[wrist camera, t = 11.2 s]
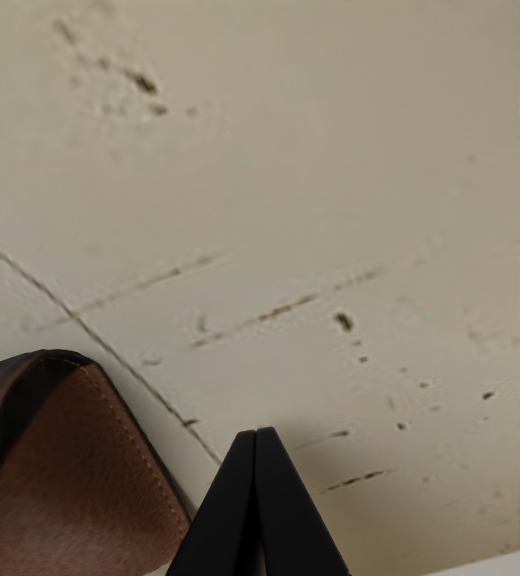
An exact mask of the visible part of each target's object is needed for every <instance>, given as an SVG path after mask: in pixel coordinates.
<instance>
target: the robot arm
mask: <svg viewBox="0 0 520 576" xmlns="http://www.w3.org/2000/svg"><path fill="white" fill-rule="evenodd" d="M165 576H352V575H351V574H349V570H348V568H347V566H346V564H345V562H344V560H343V558H342V556H341V554H340V552H339V551H338V549H337V547H336V545H335V543H334V541H333V539H332V537H331V535H330V533H329V531H328V530H327V528H326V526H325V524H324V522H323V520H322V518H321V516H320V514H319V512H318V510H317V509H316V507H315V505H314V503H313V501H312V499H311V497H310V495H309V493H308V491H307V489H306V488H305V486H304V484H303V482H302V480H301V478H300V476H299V474H298V472H297V470H296V469H295V467H294V465H293V463H292V461H291V459H290V457H289V455H288V453H287V451H286V449H285V448H284V446H283V444H282V442H281V440H280V438H279V436H278V434H277V432H276V430H275V429H274V427H265V428H259V429H257V431H255V430H247V431H241V432H239V433H238V434H237V435H236V437H235V439H234V441H233V443H232V445H231V447H230V449H229V451H228V453H227V455H226V457H225V459H224V461H223V463H222V465H221V467H220V469H219V471H218V473H217V475H216V476H215V478H214V480H213V482H212V484H211V486H210V488H209V490H208V492H207V494H206V496H205V498H204V500H203V502H202V504H201V506H200V508H199V510H198V512H197V514H196V516H195V518H194V520H193V521H192V523H191V525H190V527H189V529H188V531H187V533H186V535H185V537H184V539H183V541H182V543H181V545H180V547H179V549H178V551H177V553H176V555H175V557H174V559H173V561H172V563H171V565H170V566H169V568H168V570H167V572H166V574H165Z"/></svg>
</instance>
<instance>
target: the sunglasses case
mask: <svg viewBox="0 0 520 576" xmlns="http://www.w3.org/2000/svg"><path fill="white" fill-rule="evenodd" d="M191 523H192V521H191V519H190V517H189V515H188V513H187V511H186V509H185V507H184V505H183V503H182V501H181V499H180V497H179V495H178V493H177V491H176V489H175V487H174V485H173V483H172V481H171V478H170V477H169V475H168V473H167V472H166V470H165V468H164V466H163V465H162V463H161V461H160V460H159V458H158V456H157V454H156V453H155V451H154V449H153V448H152V446H151V445H150V443H149V441H148V440H147V438H146V437H145V435H144V433H143V432H142V430H141V429H140V427H139V425H138V424H137V422H136V421H135V419H134V417H133V416H132V414H131V412H130V411H129V409H128V407H127V406H126V404H125V403H124V401H123V400H122V399H121V397H120V396H119V394H118V392H117V391H116V389H115V387H114V386H113V384H112V383H111V382H110V380H109V379H108V378H107V376H106V375H105V373H104V372H103V370H102V368H101V366H100V365H99V364H98V363H96V362H95V361H93V360H91V359H89V358H87V357H85V356H83V355H81V354H79V353H78V352H74V351H69V350H61V349H54V350H45V349H42V350H38V351H34V352H32V353H24V354H21V355H18V356H15V357H12V358H9V359H6V360H3V361H0V576H143V575H145V574H146V573H149V572H152V571H154V570H156V569H158V568H159V567H161V566H162V565H165V564H167V563H168V562H169V561H171V560H173V559H174V557H175V555H176V553H177V551H178V549H179V547H180V545H181V543H182V541H183V539H184V537H185V535H186V533H187V531H188V529H189V527H190V525H191Z"/></svg>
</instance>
